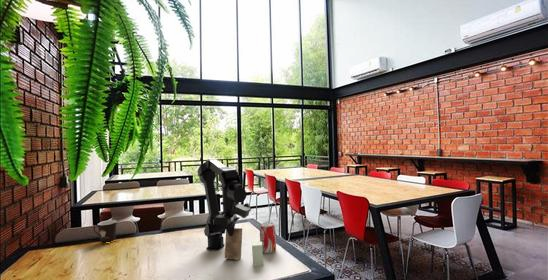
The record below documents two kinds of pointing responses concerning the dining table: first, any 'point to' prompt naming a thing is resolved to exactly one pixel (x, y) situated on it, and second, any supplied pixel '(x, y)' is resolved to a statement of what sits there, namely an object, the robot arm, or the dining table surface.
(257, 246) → the sage block
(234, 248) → the walnut block
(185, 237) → the dining table surface
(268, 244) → the soda can
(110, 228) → the coffee mug
